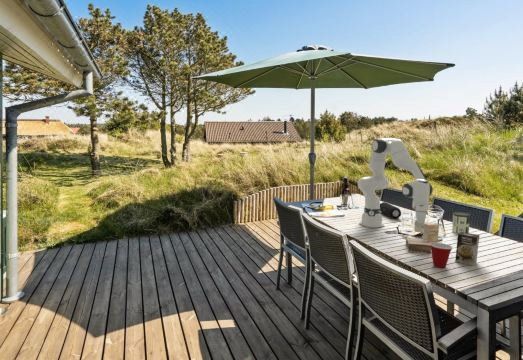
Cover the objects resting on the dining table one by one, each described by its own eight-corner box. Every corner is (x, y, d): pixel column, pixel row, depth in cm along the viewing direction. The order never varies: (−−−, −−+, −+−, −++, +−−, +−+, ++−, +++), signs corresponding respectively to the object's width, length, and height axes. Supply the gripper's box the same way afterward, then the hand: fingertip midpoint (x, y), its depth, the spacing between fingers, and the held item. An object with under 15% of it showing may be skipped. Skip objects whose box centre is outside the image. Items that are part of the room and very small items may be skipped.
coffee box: (454, 261, 167) (457, 233, 165) (457, 258, 171) (460, 231, 169) (474, 266, 160) (477, 237, 158) (477, 262, 165) (479, 234, 163)
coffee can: (462, 230, 222) (463, 211, 220) (472, 234, 211) (473, 215, 209) (448, 230, 221) (449, 212, 220) (457, 235, 211) (459, 215, 209)
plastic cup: (453, 265, 162) (454, 244, 160) (449, 272, 154) (450, 249, 152) (430, 260, 169) (432, 239, 167) (425, 266, 161) (427, 244, 159)
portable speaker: (377, 212, 278) (377, 201, 277) (387, 212, 278) (388, 201, 277) (390, 219, 253) (391, 208, 251) (402, 219, 253) (402, 207, 252)
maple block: (414, 229, 188) (414, 220, 188) (423, 230, 186) (423, 220, 186) (414, 231, 184) (415, 222, 183) (423, 232, 182) (424, 222, 181)
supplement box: (427, 244, 193) (429, 225, 191) (421, 242, 198) (423, 223, 196) (438, 243, 195) (439, 224, 193) (432, 241, 200) (433, 222, 198)
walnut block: (405, 244, 194) (406, 237, 194) (426, 246, 191) (426, 239, 190) (408, 251, 183) (409, 243, 182) (430, 253, 179) (431, 245, 179)
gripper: (413, 201, 194) (412, 222, 196) (415, 208, 175) (414, 231, 177) (424, 202, 191) (423, 223, 193) (428, 209, 173) (426, 232, 174)
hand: (419, 227), depth 185 cm, fingers closed on maple block, 5 cm apart
